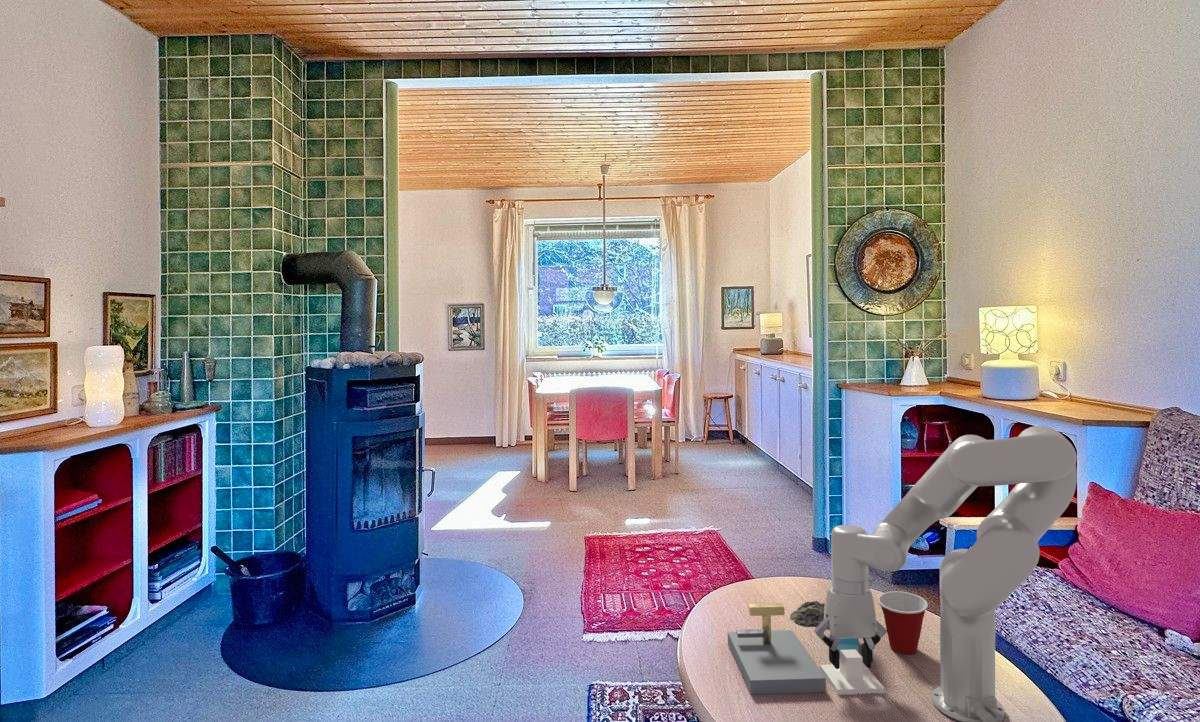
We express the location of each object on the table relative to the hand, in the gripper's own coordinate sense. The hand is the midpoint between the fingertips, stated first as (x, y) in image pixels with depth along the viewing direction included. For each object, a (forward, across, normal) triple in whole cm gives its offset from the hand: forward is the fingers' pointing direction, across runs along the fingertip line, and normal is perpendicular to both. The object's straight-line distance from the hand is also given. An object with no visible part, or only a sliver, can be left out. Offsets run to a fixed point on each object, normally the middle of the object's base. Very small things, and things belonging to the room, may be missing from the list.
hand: (850, 664), depth 136 cm
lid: (+4, 0, 0) cm, 4 cm away
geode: (+4, -7, -31) cm, 32 cm away
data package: (+4, -5, -15) cm, 16 cm away
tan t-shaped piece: (0, +17, -12) cm, 20 cm away
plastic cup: (+4, -18, -13) cm, 23 cm away
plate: (+4, +15, -7) cm, 17 cm away
